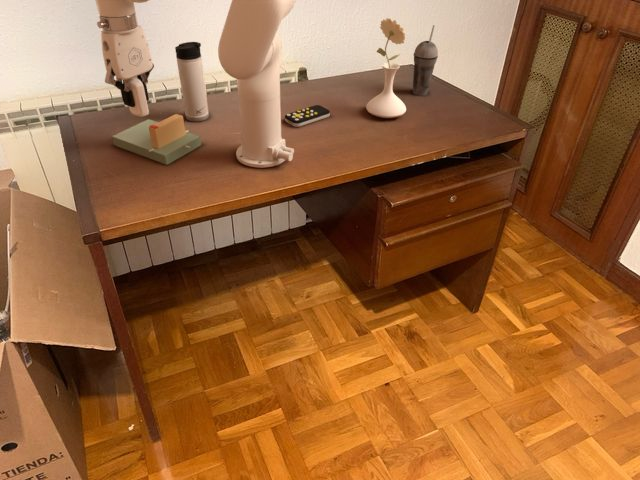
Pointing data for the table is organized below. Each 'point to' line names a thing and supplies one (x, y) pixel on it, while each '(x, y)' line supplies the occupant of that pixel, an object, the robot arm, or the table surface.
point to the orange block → (167, 131)
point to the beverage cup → (424, 65)
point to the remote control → (307, 115)
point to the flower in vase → (388, 77)
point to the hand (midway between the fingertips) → (136, 101)
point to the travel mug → (192, 81)
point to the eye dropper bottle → (138, 97)
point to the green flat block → (141, 143)
